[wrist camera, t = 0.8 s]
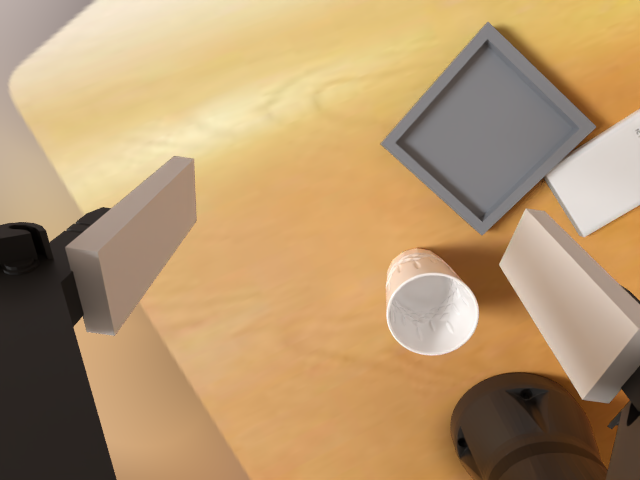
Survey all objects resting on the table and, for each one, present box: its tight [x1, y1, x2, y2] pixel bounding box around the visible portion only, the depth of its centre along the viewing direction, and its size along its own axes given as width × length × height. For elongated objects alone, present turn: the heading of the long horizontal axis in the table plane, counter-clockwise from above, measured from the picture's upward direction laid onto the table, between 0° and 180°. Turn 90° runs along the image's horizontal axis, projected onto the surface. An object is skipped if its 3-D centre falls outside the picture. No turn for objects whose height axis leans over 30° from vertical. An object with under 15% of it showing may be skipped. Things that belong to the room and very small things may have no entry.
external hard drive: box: [543, 109, 640, 237], centre depth 37 cm, size 2×8×12 cm
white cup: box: [386, 248, 479, 355], centre depth 38 cm, size 8×8×10 cm
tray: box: [380, 22, 596, 235], centre depth 37 cm, size 14×14×2 cm
